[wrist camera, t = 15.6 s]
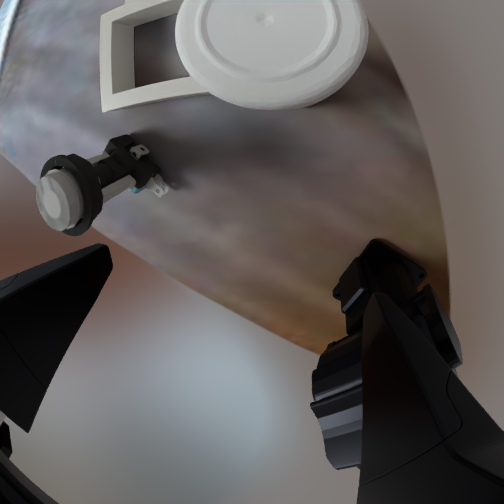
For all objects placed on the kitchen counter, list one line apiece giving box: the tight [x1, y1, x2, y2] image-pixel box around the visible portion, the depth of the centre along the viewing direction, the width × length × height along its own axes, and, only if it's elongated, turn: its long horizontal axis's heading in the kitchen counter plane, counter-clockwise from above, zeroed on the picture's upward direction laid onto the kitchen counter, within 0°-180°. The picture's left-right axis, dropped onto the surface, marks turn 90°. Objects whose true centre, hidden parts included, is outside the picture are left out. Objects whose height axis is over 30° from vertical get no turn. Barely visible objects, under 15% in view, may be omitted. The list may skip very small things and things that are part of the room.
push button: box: [36, 134, 170, 236], centre depth 17 cm, size 7×5×10 cm
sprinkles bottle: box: [175, 0, 369, 111], centre depth 10 cm, size 5×5×13 cm
